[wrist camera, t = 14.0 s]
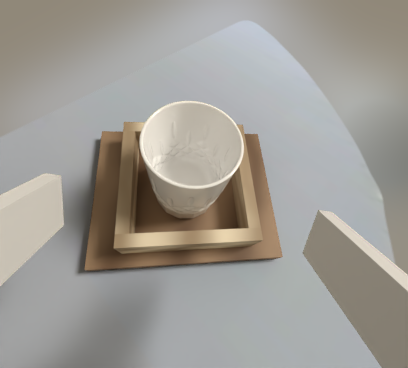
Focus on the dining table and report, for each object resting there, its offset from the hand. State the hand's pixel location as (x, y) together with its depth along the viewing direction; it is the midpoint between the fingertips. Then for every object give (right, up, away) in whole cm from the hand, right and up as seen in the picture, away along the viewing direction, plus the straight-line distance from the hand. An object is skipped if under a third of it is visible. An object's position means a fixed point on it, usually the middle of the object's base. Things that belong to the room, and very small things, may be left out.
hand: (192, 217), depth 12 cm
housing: (-2, 0, +16) cm, 16 cm away
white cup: (-1, +1, +15) cm, 15 cm away
